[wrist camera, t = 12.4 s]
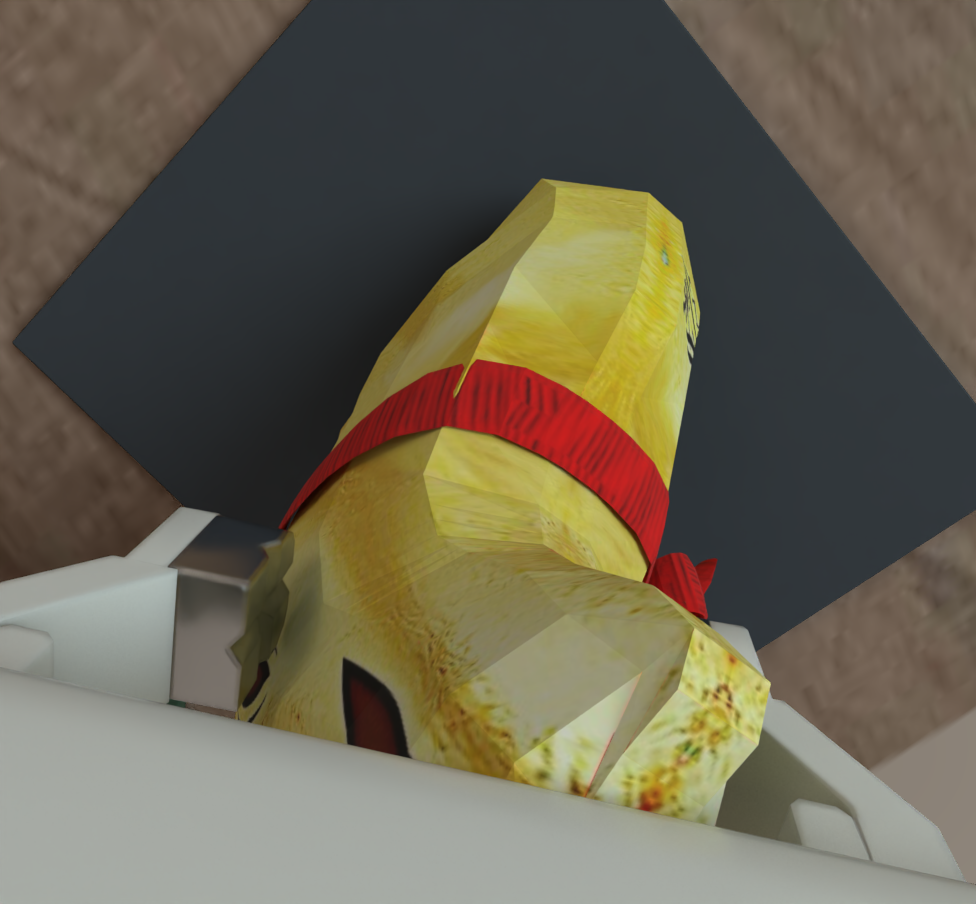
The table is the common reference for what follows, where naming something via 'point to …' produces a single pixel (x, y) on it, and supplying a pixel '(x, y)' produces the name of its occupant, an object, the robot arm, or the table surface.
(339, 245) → the mat
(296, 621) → the chocolate bunny
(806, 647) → the table surface
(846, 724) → the table surface
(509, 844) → the robot arm
